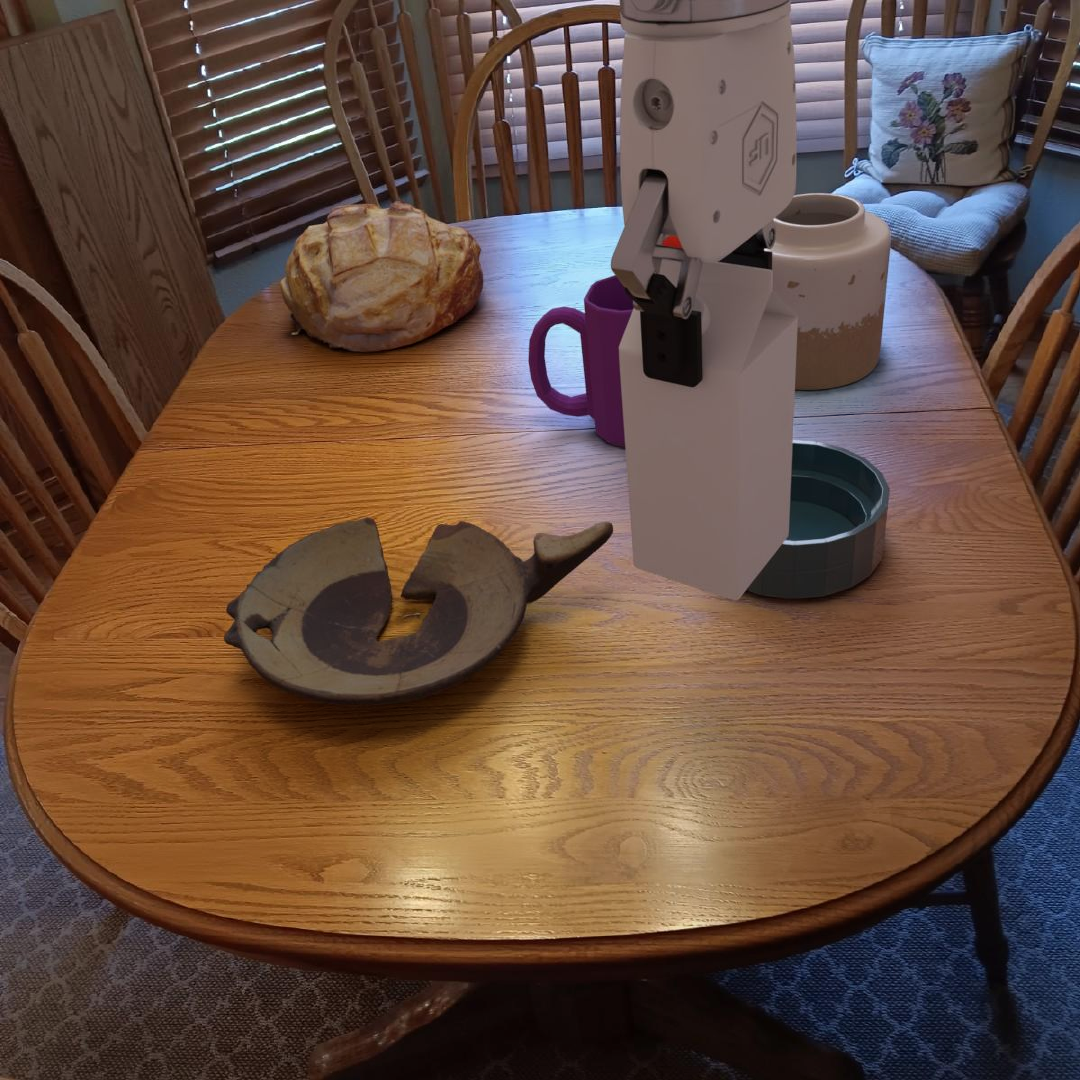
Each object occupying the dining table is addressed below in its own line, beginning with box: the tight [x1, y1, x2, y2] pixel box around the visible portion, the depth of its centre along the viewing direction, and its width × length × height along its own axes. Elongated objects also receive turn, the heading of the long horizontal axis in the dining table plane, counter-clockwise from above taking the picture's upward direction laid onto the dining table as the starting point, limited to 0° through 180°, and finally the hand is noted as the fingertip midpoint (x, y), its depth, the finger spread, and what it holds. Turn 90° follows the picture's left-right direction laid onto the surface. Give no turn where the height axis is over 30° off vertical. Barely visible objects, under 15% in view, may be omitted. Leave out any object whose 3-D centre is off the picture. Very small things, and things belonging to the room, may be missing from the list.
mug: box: [528, 274, 634, 448], centre depth 104 cm, size 9×16×15 cm, turn 75°
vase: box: [764, 192, 892, 391], centre depth 111 cm, size 15×15×17 cm
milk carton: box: [619, 260, 798, 602], centre depth 59 cm, size 7×7×19 cm
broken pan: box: [223, 516, 614, 707], centre depth 82 cm, size 22×30×8 cm
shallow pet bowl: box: [746, 439, 891, 600], centre depth 88 cm, size 15×15×6 cm
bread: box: [279, 199, 484, 353], centre depth 134 cm, size 25×27×15 cm
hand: (709, 345), depth 56 cm, fingers closed on milk carton, 7 cm apart
